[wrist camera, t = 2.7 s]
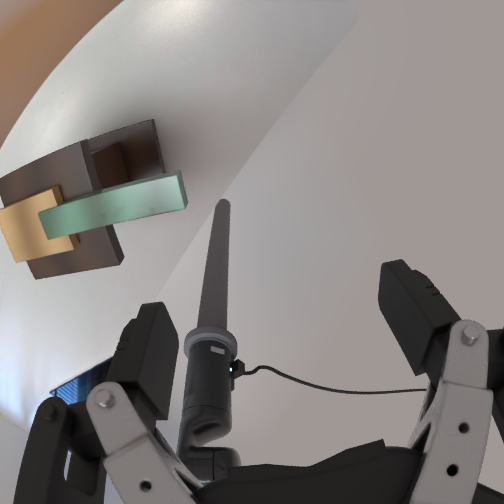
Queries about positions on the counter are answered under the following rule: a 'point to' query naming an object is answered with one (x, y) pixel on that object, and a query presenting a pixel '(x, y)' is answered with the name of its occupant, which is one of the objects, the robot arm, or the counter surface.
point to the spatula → (84, 213)
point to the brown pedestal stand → (87, 189)
